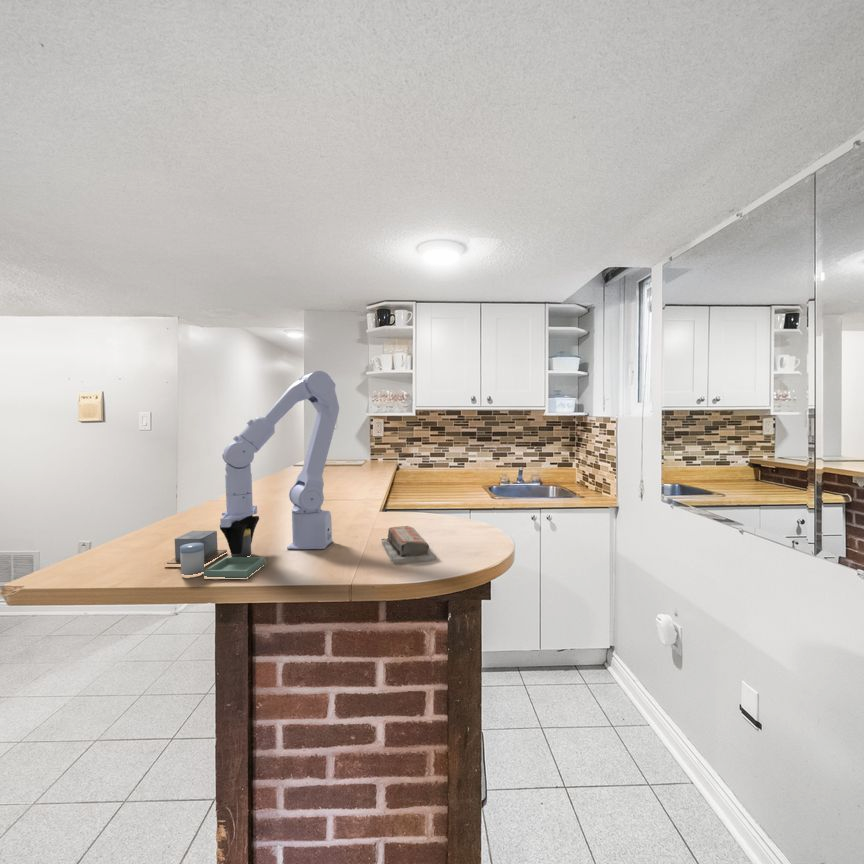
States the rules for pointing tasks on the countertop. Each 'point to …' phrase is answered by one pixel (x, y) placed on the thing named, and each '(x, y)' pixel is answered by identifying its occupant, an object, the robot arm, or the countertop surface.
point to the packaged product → (406, 546)
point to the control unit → (198, 537)
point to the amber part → (245, 544)
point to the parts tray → (235, 567)
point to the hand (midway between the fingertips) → (241, 550)
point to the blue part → (192, 558)
